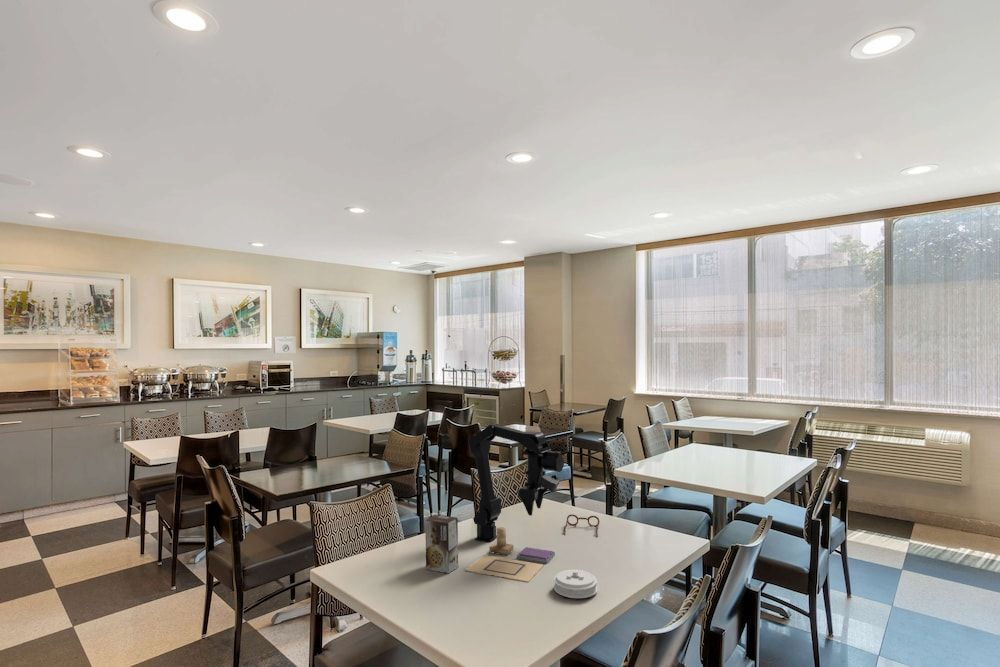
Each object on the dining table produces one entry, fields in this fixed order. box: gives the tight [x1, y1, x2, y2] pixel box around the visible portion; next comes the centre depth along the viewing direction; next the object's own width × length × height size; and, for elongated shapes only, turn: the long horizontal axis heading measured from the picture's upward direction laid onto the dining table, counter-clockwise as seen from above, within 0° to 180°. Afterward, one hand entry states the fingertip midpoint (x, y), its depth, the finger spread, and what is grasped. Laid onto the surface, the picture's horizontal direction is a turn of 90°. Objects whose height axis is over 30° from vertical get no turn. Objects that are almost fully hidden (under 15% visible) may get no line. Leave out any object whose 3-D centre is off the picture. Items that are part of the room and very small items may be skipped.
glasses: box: [563, 514, 600, 538], centre depth 210 cm, size 13×13×5 cm
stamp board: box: [464, 554, 545, 583], centre depth 174 cm, size 22×14×1 cm, turn 66°
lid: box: [553, 569, 598, 599], centre depth 157 cm, size 13×13×5 cm
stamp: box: [489, 526, 514, 556], centre depth 189 cm, size 7×5×8 cm
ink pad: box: [516, 547, 556, 564], centre depth 183 cm, size 11×8×2 cm
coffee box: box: [424, 514, 459, 574], centre depth 175 cm, size 9×6×16 cm
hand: (534, 511), depth 191 cm, fingers open, 9 cm apart
